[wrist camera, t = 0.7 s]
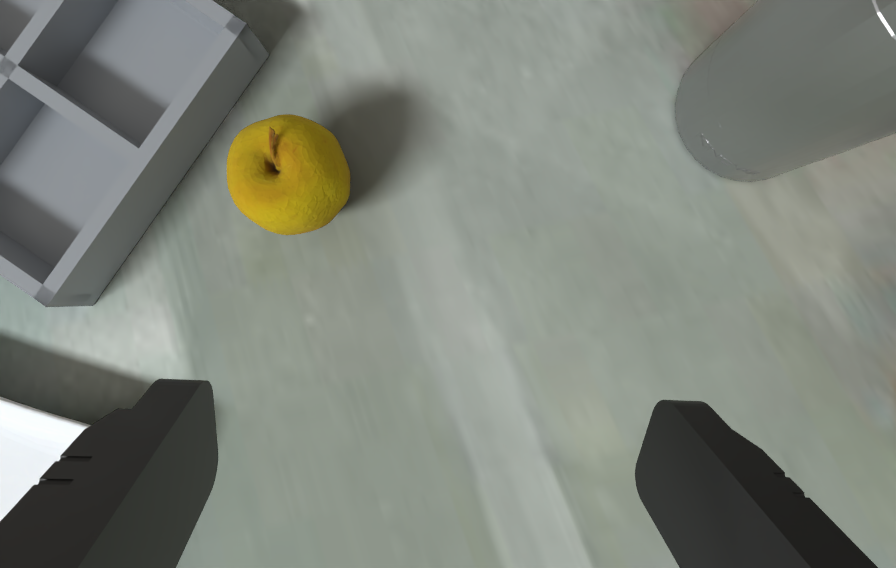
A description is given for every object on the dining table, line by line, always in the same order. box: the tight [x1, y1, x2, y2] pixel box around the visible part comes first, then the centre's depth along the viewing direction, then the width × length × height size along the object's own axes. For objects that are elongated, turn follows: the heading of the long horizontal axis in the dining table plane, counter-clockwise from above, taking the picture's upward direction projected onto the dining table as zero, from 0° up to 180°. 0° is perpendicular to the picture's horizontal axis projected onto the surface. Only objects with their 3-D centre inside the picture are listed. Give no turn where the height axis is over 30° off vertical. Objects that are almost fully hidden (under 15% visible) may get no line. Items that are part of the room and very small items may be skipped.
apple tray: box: [0, 0, 269, 307], centre depth 29 cm, size 20×20×4 cm
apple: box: [227, 115, 350, 235], centre depth 27 cm, size 6×6×8 cm
